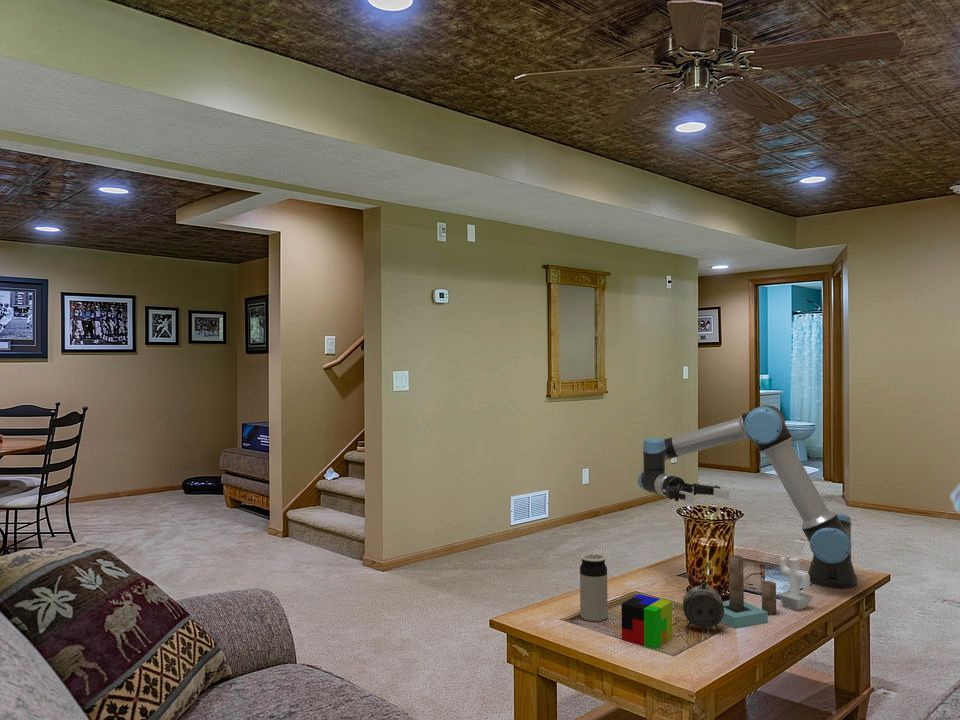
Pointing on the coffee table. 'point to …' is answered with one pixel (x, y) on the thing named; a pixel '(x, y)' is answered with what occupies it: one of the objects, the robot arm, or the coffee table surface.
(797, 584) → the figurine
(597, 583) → the travel mug
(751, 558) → the coffee table surface
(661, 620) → the puzzle toy
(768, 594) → the short dowel
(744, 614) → the teal square frame
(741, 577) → the long dowel
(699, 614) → the alarm clock
